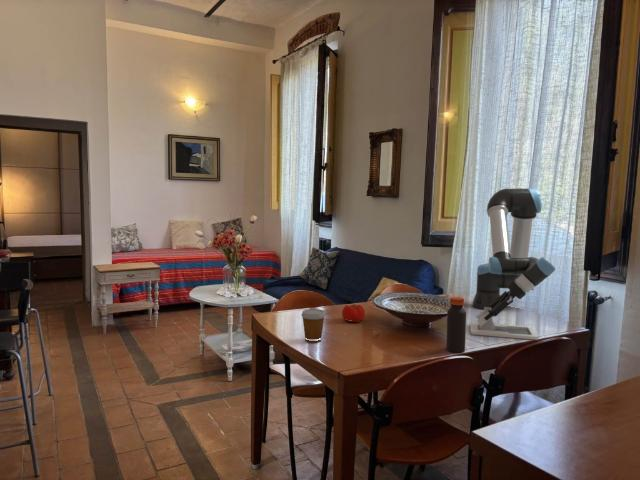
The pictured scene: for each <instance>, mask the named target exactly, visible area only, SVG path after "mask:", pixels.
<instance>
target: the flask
mask: <svg viewBox="0 0 640 480" xmlns="http://www.w3.org/2000/svg"><path fill="white" fill-rule="evenodd" d="M491 309H492V308H490V307H484V309H483V310H484V315H485V314H486V313H487V312H488V310H490V311H491ZM494 324H495V323H494V320H493V317H492V318H491V319H490V320H489V321H487V322H486V323H485V324H484V325H482V326H481V325H480V326H479V330H489V331H496V330H495V326H494Z"/></svg>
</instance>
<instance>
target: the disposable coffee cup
mask: <svg viewBox="0 0 640 480" xmlns="http://www.w3.org/2000/svg"><path fill="white" fill-rule="evenodd" d="M325 316H326V313H325V311H324V310H322V309H318V308H308V309H307V308H306V309H304V310H302V313H301V318H302V323H303V330H304V331H303V332H304V339H305V338H307V339H319V338H321V337H322V338H323V330H324V329H323V328H324V321H325ZM322 338H321V340H318V341H309V340H306V339H305V342H306V343H308V344H317V343H321V342H322Z"/></svg>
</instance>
